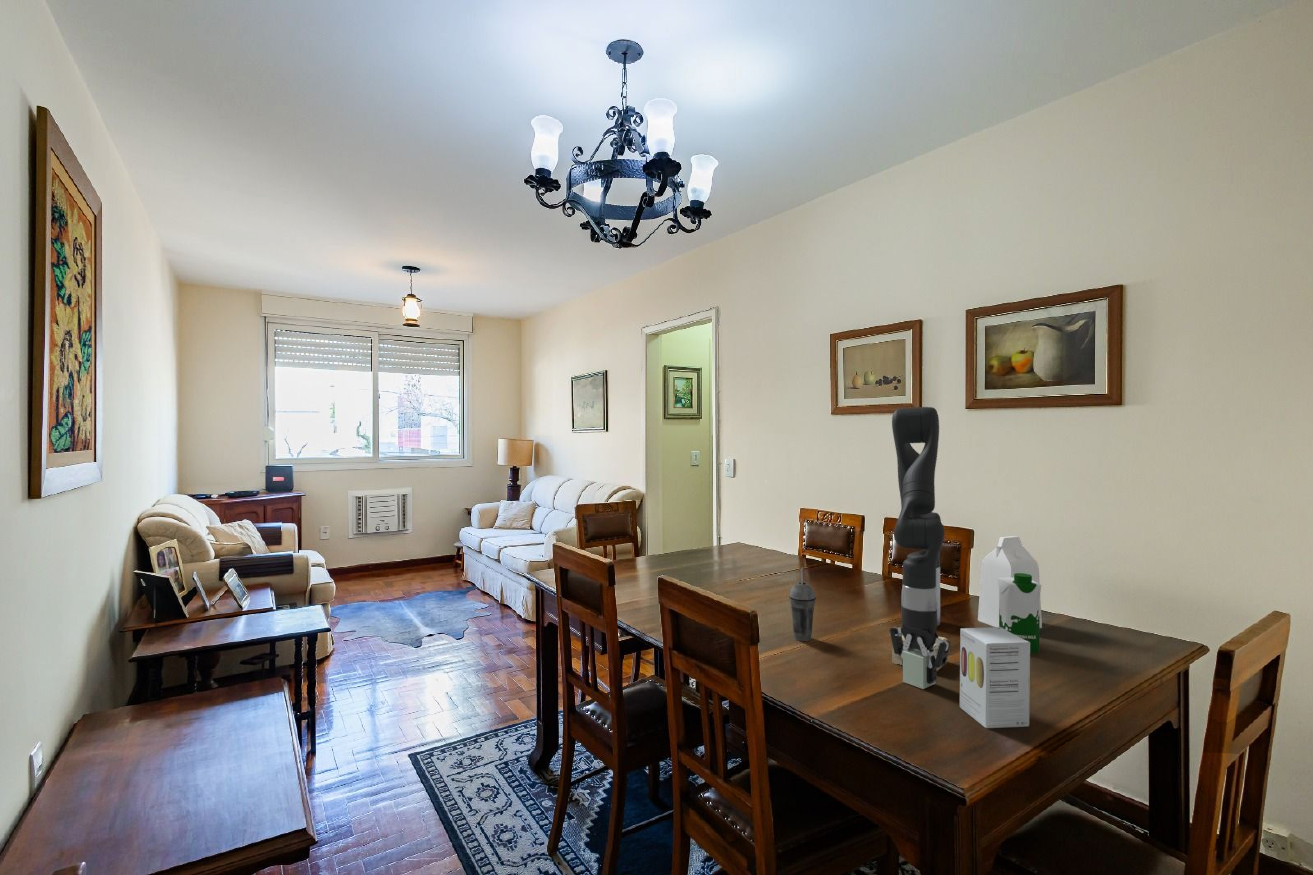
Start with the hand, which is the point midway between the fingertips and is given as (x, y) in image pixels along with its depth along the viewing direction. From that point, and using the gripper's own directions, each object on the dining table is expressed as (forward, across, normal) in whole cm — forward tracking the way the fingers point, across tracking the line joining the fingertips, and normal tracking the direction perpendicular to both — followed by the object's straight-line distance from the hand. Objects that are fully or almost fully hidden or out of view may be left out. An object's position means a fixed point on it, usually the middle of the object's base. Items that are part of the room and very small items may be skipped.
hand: (919, 678), depth 141 cm
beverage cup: (+1, -36, +2) cm, 36 cm away
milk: (+2, -8, +61) cm, 61 cm away
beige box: (+1, -7, +12) cm, 14 cm away
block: (+1, 0, 0) cm, 1 cm away
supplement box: (+1, +18, -3) cm, 18 cm away
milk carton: (+1, +3, +42) cm, 42 cm away
